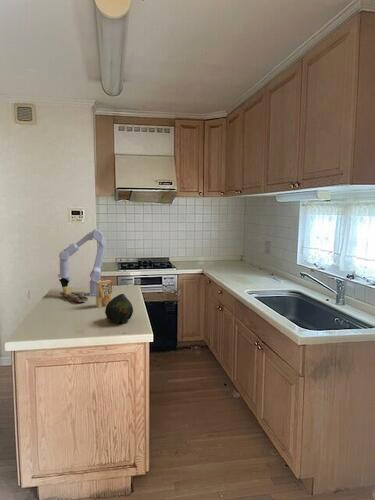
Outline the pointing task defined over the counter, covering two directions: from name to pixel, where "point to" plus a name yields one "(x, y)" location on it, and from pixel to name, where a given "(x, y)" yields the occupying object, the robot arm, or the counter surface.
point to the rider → (67, 290)
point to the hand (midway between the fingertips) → (64, 289)
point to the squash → (119, 309)
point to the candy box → (103, 293)
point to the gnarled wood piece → (75, 296)
